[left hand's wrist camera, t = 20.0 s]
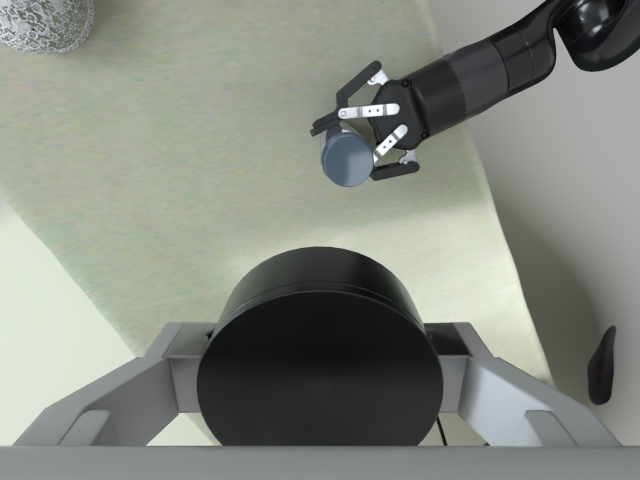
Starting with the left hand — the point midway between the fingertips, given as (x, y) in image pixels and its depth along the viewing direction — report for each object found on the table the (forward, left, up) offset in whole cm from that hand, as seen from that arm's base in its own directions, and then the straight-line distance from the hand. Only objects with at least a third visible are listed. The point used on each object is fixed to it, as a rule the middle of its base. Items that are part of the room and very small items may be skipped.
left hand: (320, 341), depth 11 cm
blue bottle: (0, -3, -43) cm, 43 cm away
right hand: (0, 0, -36) cm, 36 cm away
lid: (0, 0, +2) cm, 2 cm away
